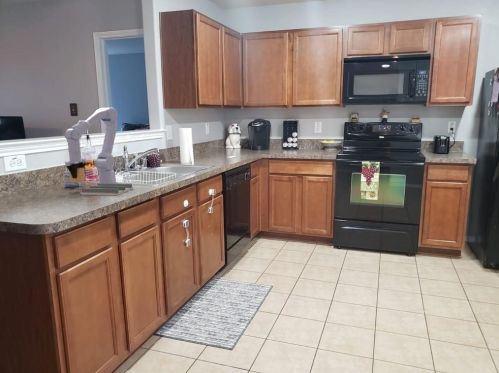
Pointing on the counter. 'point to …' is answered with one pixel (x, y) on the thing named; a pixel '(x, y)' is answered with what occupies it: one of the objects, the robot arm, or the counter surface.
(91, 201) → the counter surface
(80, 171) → the orange block
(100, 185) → the slot rack
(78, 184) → the medicine box
